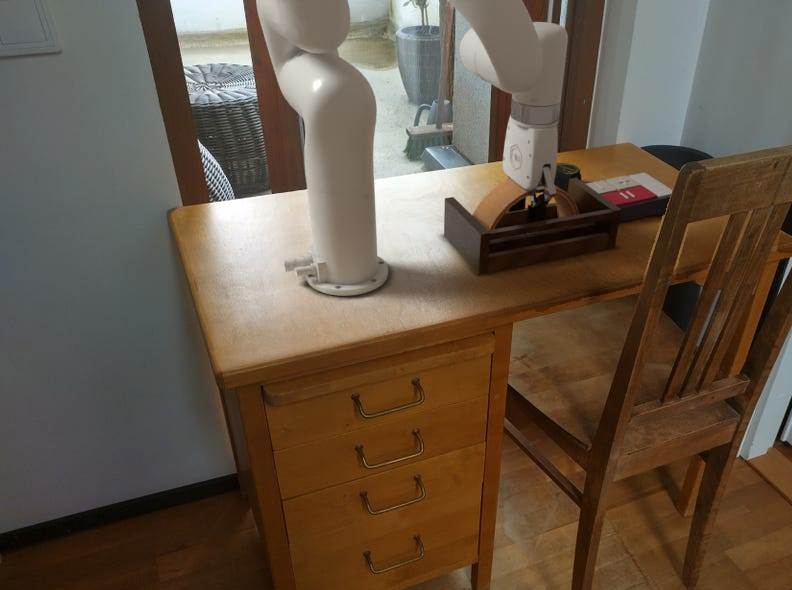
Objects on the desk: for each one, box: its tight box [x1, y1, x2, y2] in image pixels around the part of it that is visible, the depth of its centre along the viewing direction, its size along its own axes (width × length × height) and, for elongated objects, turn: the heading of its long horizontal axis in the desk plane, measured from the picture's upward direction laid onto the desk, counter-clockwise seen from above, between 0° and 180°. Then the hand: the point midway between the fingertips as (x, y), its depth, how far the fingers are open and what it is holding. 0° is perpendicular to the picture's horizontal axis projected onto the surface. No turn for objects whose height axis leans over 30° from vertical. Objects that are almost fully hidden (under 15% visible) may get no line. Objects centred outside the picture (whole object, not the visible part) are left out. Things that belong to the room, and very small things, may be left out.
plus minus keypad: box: [585, 172, 673, 223], centre depth 133 cm, size 11×4×15 cm
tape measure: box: [554, 162, 582, 193], centre depth 140 cm, size 7×7×4 cm
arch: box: [471, 178, 579, 230], centre depth 120 cm, size 6×20×10 cm, turn 120°
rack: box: [443, 178, 621, 275], centre depth 120 cm, size 26×14×7 cm, turn 114°
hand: (525, 217), depth 121 cm, fingers closed on arch, 5 cm apart
